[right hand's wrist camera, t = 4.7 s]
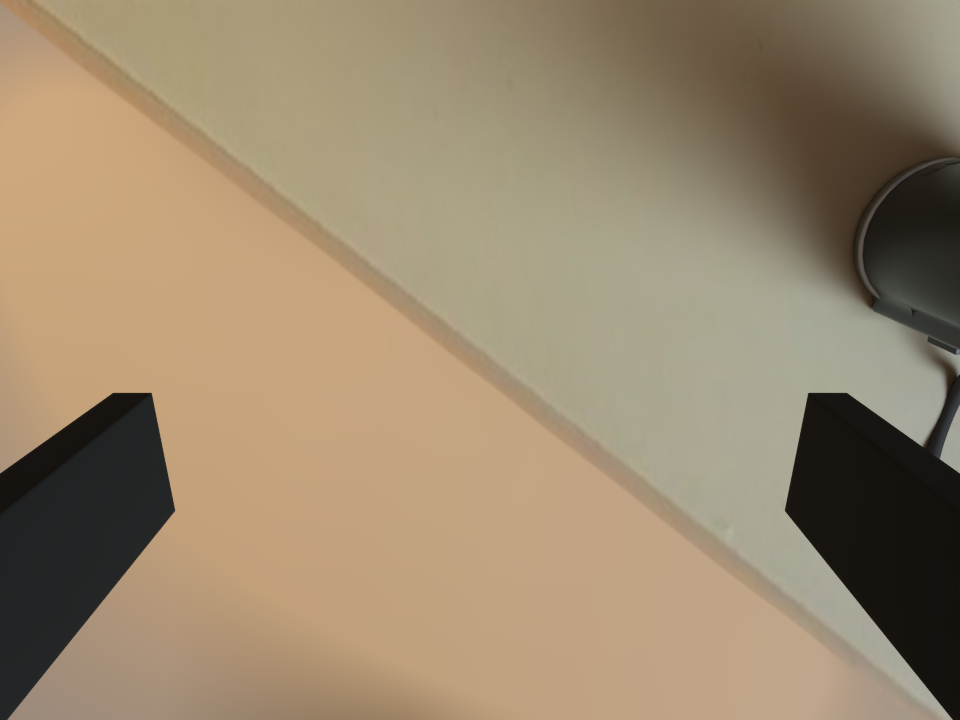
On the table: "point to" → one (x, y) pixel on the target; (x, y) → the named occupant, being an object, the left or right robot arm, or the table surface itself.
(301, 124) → the table surface
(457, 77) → the table surface
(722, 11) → the table surface
